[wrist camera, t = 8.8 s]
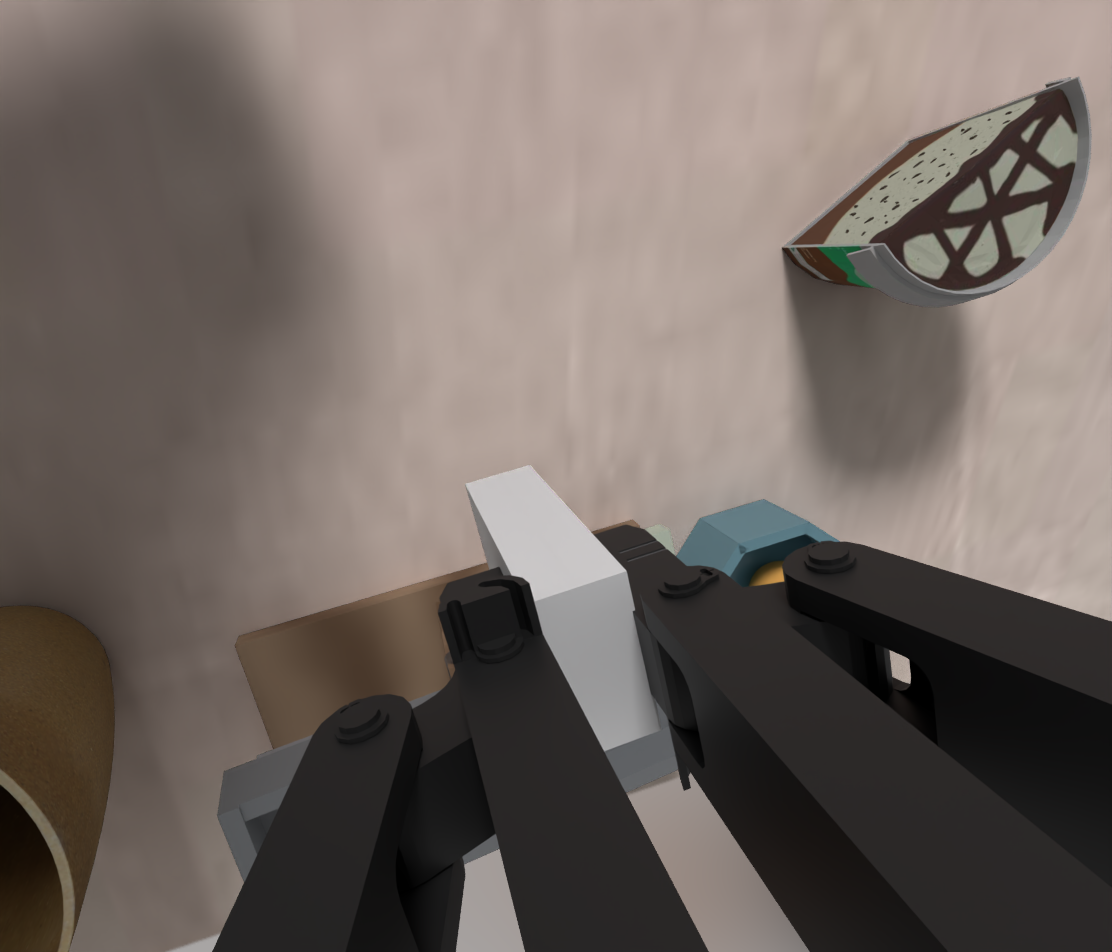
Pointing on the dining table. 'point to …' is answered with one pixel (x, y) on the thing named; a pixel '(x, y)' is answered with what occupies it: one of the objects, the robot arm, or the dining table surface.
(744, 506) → the cup
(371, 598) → the stand
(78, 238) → the dining table surface
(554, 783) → the robot arm
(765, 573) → the ball
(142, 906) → the dining table surface
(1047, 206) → the food container
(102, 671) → the plant pot
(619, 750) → the trough
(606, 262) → the dining table surface
